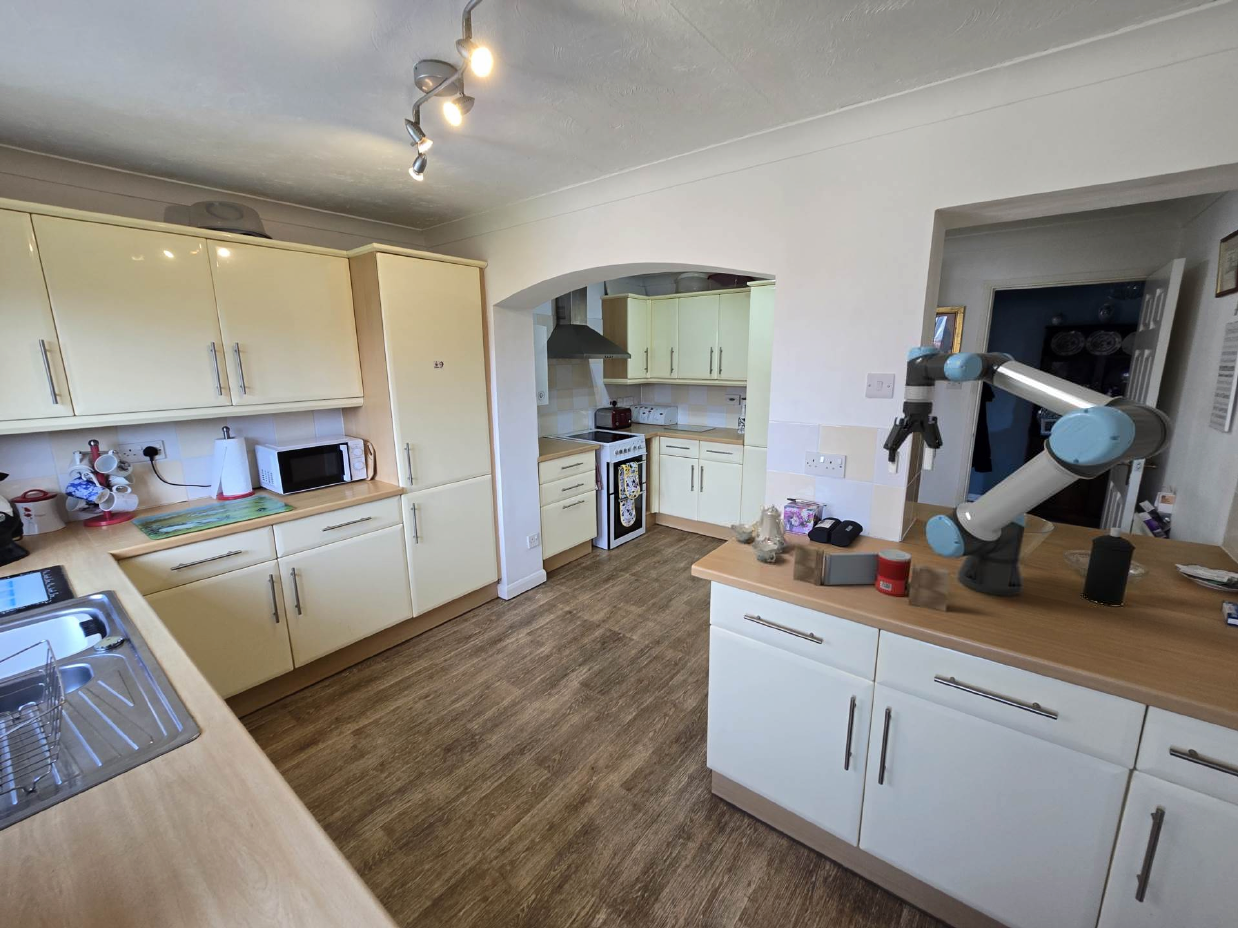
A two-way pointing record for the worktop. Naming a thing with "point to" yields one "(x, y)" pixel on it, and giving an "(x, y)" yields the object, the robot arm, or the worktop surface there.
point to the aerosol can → (1108, 568)
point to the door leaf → (850, 568)
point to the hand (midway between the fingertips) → (910, 471)
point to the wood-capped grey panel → (924, 588)
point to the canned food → (893, 572)
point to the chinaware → (764, 534)
